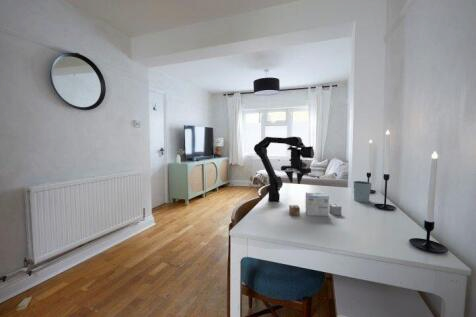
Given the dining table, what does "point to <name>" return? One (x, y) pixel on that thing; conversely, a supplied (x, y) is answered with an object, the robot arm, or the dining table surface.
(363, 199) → the grey green container
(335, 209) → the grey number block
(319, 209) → the light bulb box
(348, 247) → the dining table surface
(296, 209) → the brown bevelled block
